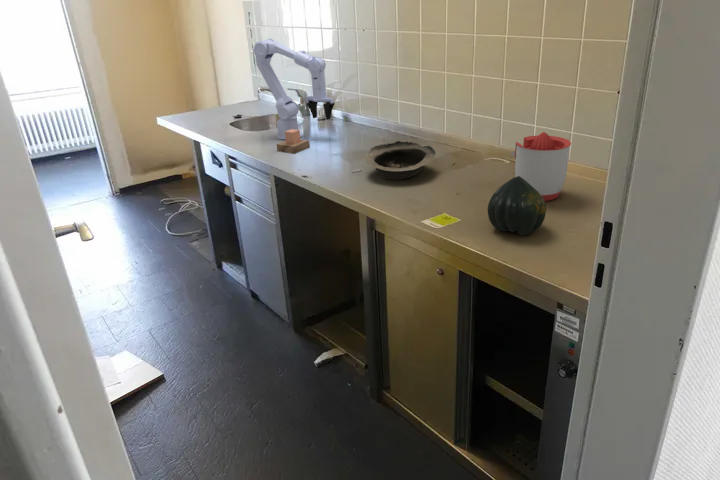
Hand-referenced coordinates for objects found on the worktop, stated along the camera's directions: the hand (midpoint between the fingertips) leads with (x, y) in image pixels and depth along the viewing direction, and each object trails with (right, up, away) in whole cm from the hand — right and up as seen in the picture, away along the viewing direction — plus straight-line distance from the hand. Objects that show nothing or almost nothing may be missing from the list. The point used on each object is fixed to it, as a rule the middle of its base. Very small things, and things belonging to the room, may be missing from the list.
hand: (321, 118), depth 242 cm
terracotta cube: (-12, -12, -9) cm, 19 cm away
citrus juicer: (+72, -40, -73) cm, 110 cm away
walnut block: (-12, -16, -8) cm, 21 cm away
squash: (+59, -52, -94) cm, 122 cm away
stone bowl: (+32, -31, -46) cm, 64 cm away
